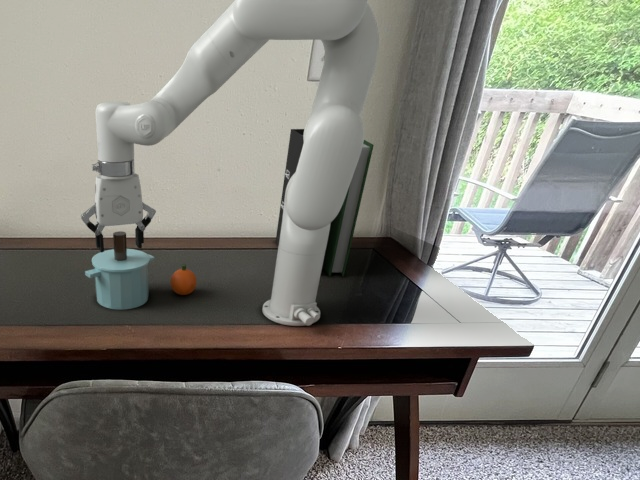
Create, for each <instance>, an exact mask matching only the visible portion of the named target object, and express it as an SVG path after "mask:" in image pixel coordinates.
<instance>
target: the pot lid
mask: <svg viewBox="0 0 640 480" xmlns="http://www.w3.org/2000/svg"><path fill="white" fill-rule="evenodd" d="M112 240H113V241H112V242H113V243H112V244H113V248H112V249H107V250H104V252H100V251H99V252H98V253H96V254H94V255H92V258H91V264H92V266H93V268H94V267H95V268H97V269H100V270H103V271H108V272H129V271H135V270H138V269H141V268H143V267H145V266H147V265H148V266H149V264H150V263H151V262H150V257H149V255H150V254H148V253H146V252H144V251H142V250H139V249H134V248H128V245H127V244H128V242H127V232H126V231H123V230H120V231H114V232H113V233H112Z"/></svg>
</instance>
